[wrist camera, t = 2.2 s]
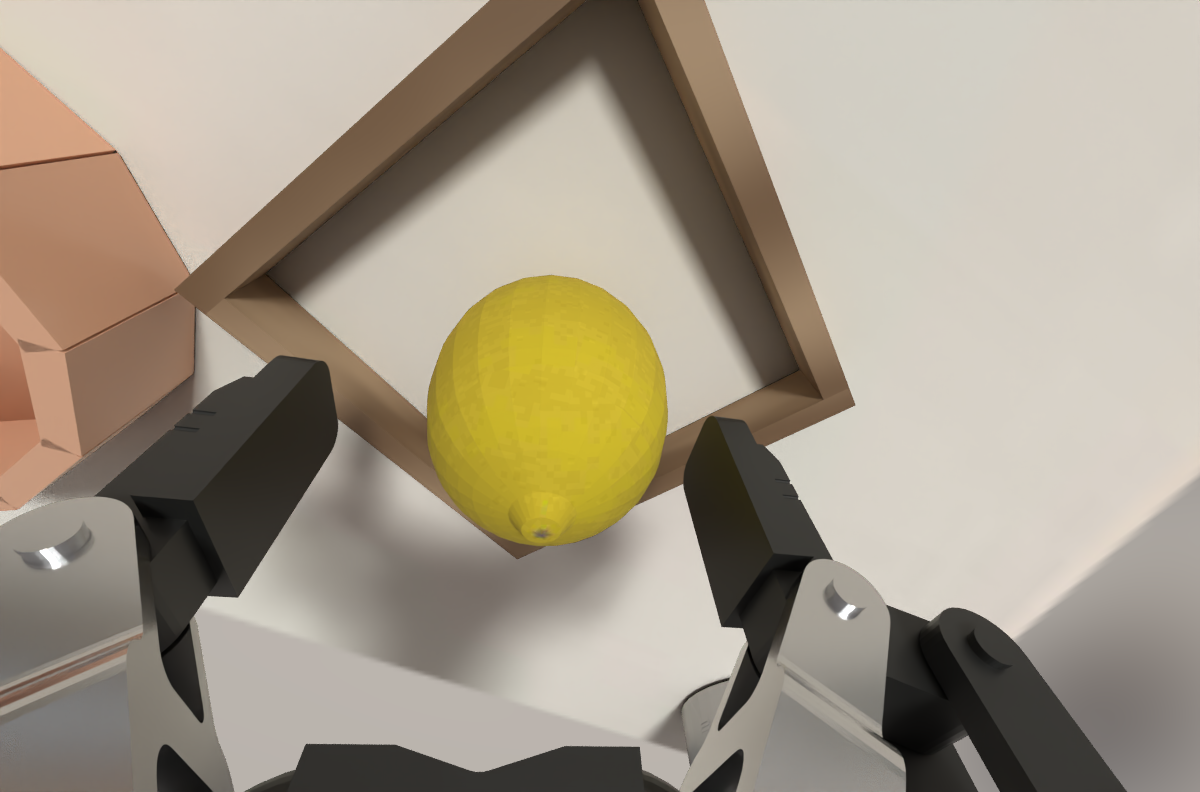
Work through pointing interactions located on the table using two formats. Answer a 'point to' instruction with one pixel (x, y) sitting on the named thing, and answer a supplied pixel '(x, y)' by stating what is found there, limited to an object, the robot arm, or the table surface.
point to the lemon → (547, 411)
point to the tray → (416, 108)
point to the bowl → (76, 292)
